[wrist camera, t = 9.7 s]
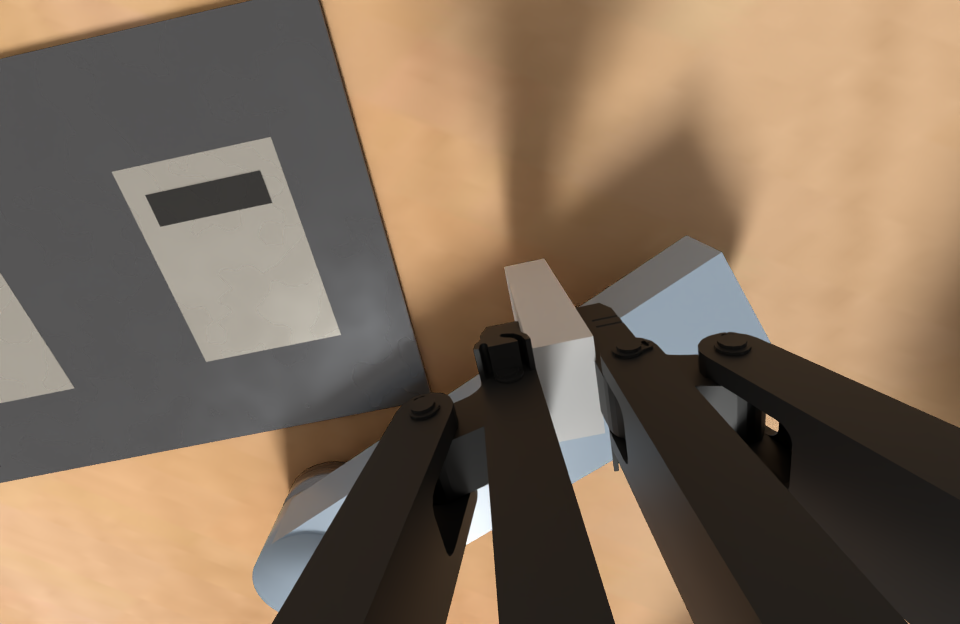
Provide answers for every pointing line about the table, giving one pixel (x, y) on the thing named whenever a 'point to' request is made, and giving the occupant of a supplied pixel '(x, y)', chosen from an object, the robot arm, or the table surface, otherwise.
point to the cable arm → (648, 314)
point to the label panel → (189, 242)
